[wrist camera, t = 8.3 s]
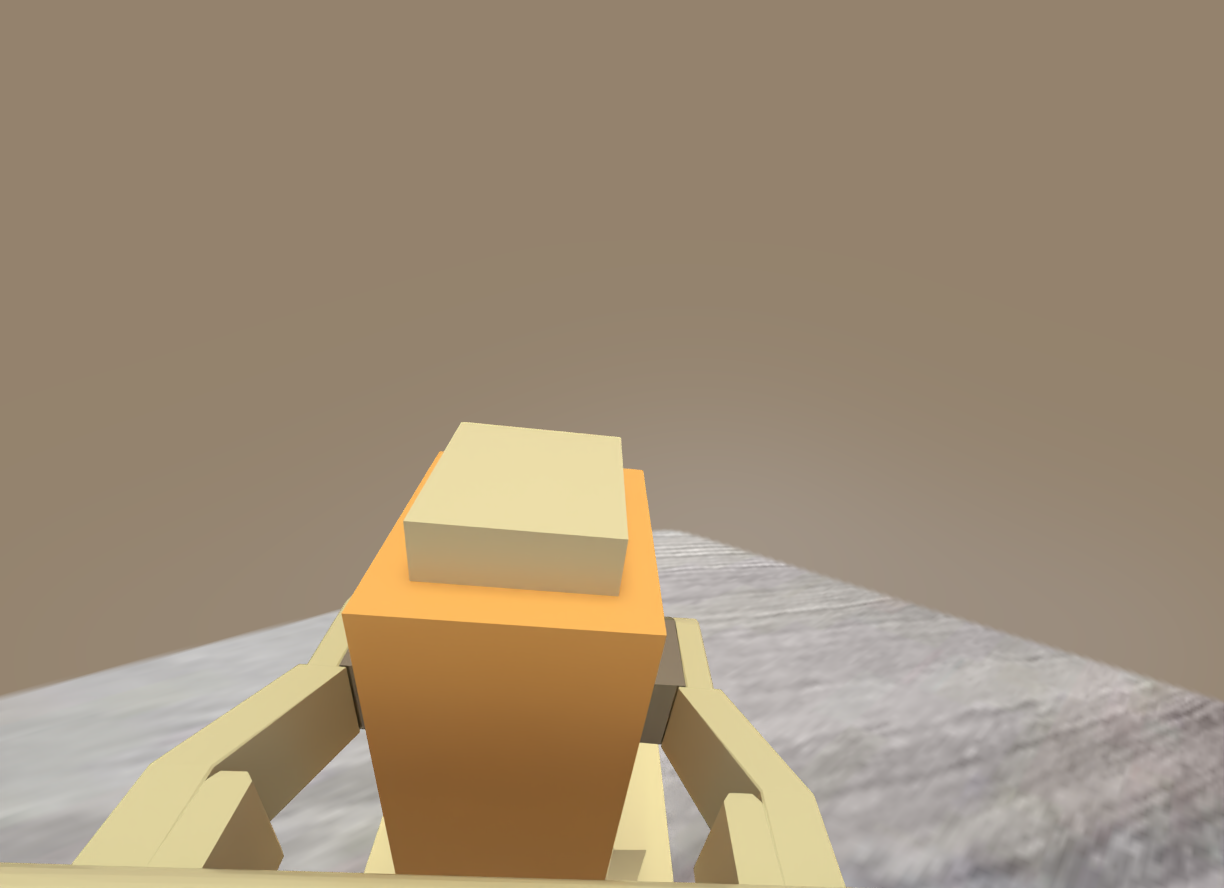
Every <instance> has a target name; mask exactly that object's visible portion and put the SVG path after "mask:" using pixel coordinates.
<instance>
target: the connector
mask: <svg viewBox="0 0 1224 888" xmlns="http://www.w3.org/2000/svg"><path fill="white" fill-rule="evenodd" d="M341 614H342V619H343V624H344V629H345V634H346V638H347V643H348V648H349V653H350V658H351V662H352V667H353V672H354V677H355V682H356V687H357V691H358V696H359V701H360V706H361V711H362V715H363V720H364V725H365V730H366V735H367V740H368V744H369V749H370V754H371V759H372V764H373V768H374V773H375V778H376V783H377V788H378V792H379V797H380V802H381V807H382V812H383V817H384V821H385V826H386V831H387V836H388V841H389V845H390V850H391V855H392V860H393V865H394V870H395V874H412V875H446V876H480V877H513V878H547V879H581V880H605V878H606V874H607V870H608V866H609V862H610V858H611V854H612V850H613V846H614V842H615V838H616V834H617V830H618V826H619V822H620V818H621V814H622V810H623V807H624V803H625V799H626V795H627V791H628V787H629V783H630V779H631V775H632V771H633V767H634V763H635V759H636V755H637V751H638V747H639V743H640V739H641V735H642V731H643V727H644V724H645V720H646V716H647V712H648V708H649V704H650V700H651V696H652V692H653V688H654V684H655V680H656V676H657V672H658V668H659V664H660V660H661V656H662V652H663V648H664V645H665V641H666V637H667V634H666V627H665V620H664V613H663V606H662V599H661V592H660V585H659V578H658V571H657V564H656V557H655V550H654V543H653V536H652V529H651V523H650V516H649V509H648V502H647V495H646V488H645V481H644V475H643V470H634V469H623V461H622V447H621V437H612V436H611V437H610V436H601V435H591V434H580V433H571V432H570V433H569V432H560V431H550V430H540V429H530V428H520V427H510V426H499V425H489V424H478V423H469V422H461V424H460V426H459V427H458V429H457V431H456V432H455V434H454V436H453V437H452V439H451V441H450V443H449V444H448V446H447V447H446V449H445V451H444V452H441V451H440V452H439V454H438V455H437V457H436V458H435V460H434V462H433V463H432V465H431V467H430V468H429V470H428V471H427V473H426V475H425V476H424V478H423V480H422V481H421V483H420V485H419V486H418V488H417V490H416V491H415V493H414V495H413V496H412V498H411V500H410V501H409V503H408V505H407V506H406V508H405V509H404V511H403V513H402V514H401V516H400V518H399V519H398V521H397V523H396V524H395V526H394V528H393V529H392V531H391V533H390V534H389V536H388V537H387V539H386V541H385V542H384V544H383V546H382V547H381V549H380V550H379V552H378V554H377V555H376V557H375V559H374V560H373V562H372V564H371V565H370V567H369V569H368V570H367V572H366V574H365V575H364V577H363V578H362V580H361V582H360V583H359V585H358V587H357V588H356V590H355V592H354V593H353V595H352V597H351V598H350V600H349V602H348V603H347V605H346V606H345V608H344V610H343V611H342V613H341Z"/></svg>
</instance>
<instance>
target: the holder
mask: <svg viewBox="0 0 1224 888" xmlns="http://www.w3.org/2000/svg"><path fill="white" fill-rule="evenodd" d="M364 873H379V874H395V870H394V865H393V860H392V855H391V850H390V845H389V841H388V836H387V831H386V826H385V821H384V817H382V820H381V823H380V826H379V829H378V832H377V835H376V838H375V841H374V844H373V847H372V850H371V853H370V856H369V859H368V862H367V865H366V868H365V871H364ZM605 880H614V881H648V882H673V873H672V865H671V856H670V847H669V838H668V829H667V820H666V811H665V802H664V793H663V784H662V775H661V766H660V757H659V748H658V744H649V743H639V747H638V751H637V755H636V759H635V763H634V767H633V771H632V775H631V779H630V783H629V787H628V791H627V795H626V799H625V803H624V807H623V810H622V814H621V818H620V822H619V826H618V830H617V834H616V838H615V842H614V846H613V850H612V854H611V858H610V862H609V866H608V870H607V874H606V878H605Z"/></svg>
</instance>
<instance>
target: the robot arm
mask: <svg viewBox="0 0 1224 888" xmlns="http://www.w3.org/2000/svg"><path fill="white" fill-rule="evenodd" d="M351 597H352V596H351ZM351 597H350V598H351ZM350 598H349V599H348V600H347V601H346V602H345V604H344V606H343V607H342V609H341V610H340V612H339V614H338V615H337V617H336V619H335V620H334V622H333V623H332V625H331V627H330V628H329V630H328V632H327V633H326V635H325V636H324V638H323V640H322V641H321V643H320V644H319V646H318V648H317V649H316V651H315V653H314V654H313V656H312V657H311V659H310V661H309V662H308V664H299V665H297V666H296V667H294V668H293V669H291V670H290V671H288V672H287V673H285V674H284V675H282V676H281V677H279V678H278V679H276V680H275V681H273V682H272V683H270V684H269V685H267V686H266V687H264V688H263V689H261V690H260V691H258V692H257V693H255V694H254V695H252V696H251V697H249V698H248V699H246V700H245V701H243V702H242V703H240V704H239V705H237V706H236V707H234V708H233V709H231V710H230V711H229V712H227V713H226V714H224V715H223V716H221V717H220V718H218V719H217V720H215V721H214V722H212V723H211V724H209V725H208V726H206V727H205V728H203V729H202V730H200V731H199V732H197V733H196V734H194V735H193V736H191V737H190V738H188V739H187V740H185V741H184V742H182V743H181V744H179V745H178V746H176V747H175V748H173V749H172V750H170V751H169V752H167V753H166V754H164V755H163V756H161V757H160V758H158V759H157V760H155V761H154V762H152V763H151V764H150V765H149V766H148V767H147V768H146V770H145V771H144V772H143V774H142V775H141V776H140V777H139V779H138V780H137V781H136V782H135V784H134V785H133V786H132V788H131V789H130V790H129V791H128V793H127V794H126V795H125V797H124V798H123V799H122V800H121V802H120V803H119V804H118V805H117V807H116V808H115V809H114V811H113V812H112V813H111V814H110V816H109V817H108V818H107V820H106V821H105V822H104V823H103V825H102V826H101V827H100V828H99V830H98V831H97V832H96V834H95V835H94V836H93V837H92V839H91V840H90V841H89V843H88V844H87V845H86V846H85V848H84V849H83V850H82V851H81V853H80V854H79V855H78V857H77V858H76V859H75V860H74V862H73V863H72V864H71V865H70V864H36V863H1V862H0V888H850V887H846V886H845V884H844V881H843V878H842V875H841V872H840V869H839V866H838V863H837V861H836V858H835V855H834V852H833V849H832V846H831V843H830V840H829V838H828V835H827V832H826V829H825V826H824V823H823V820H822V817H821V814H820V812H819V809H818V806H817V803H816V800H815V797H814V795H813V794H812V792H811V791H810V790H809V789H808V788H807V787H806V786H805V784H804V783H803V782H802V781H801V780H800V779H799V778H798V777H797V775H796V774H795V773H794V772H793V771H792V770H791V769H790V767H789V766H788V765H787V764H786V763H785V762H784V761H783V759H782V758H781V757H780V756H779V755H778V754H777V753H776V752H775V750H774V749H773V748H772V747H771V746H770V745H769V744H768V742H767V741H766V740H765V739H764V738H763V737H762V736H761V735H760V733H759V732H758V731H757V730H756V729H755V728H754V727H753V725H752V724H751V723H750V722H749V721H748V720H747V719H746V718H745V716H744V715H743V714H742V713H741V712H740V711H739V710H738V708H737V707H736V706H735V705H734V704H733V703H732V702H731V701H730V699H729V698H728V697H727V696H726V695H725V694H724V693H723V691H722V690H719V689H714V688H713V683H712V679H711V674H710V670H709V666H708V661H707V657H706V653H705V648H704V644H703V639H702V635H701V631H700V626H699V623H698V621H697V620H696V619H688V618H672V617H664V620H665V627H666V634H667V637H666V641H665V645H664V648H663V652H662V656H661V660H660V664H659V668H658V672H657V676H656V680H655V684H654V688H653V692H652V696H651V700H650V704H649V708H648V712H647V716H646V720H645V724H644V727H643V731H642V735H641V739H640V743H649V744H661V745H662V746H661V747H662V749H663V751H664V752H665V754H666V756H667V757H668V759H669V761H670V763H671V764H672V766H673V768H674V769H675V771H676V773H677V774H678V776H679V778H680V779H681V781H682V783H683V784H684V786H685V788H686V789H687V791H688V793H689V794H690V796H691V798H692V799H693V801H694V803H695V805H696V806H697V808H698V810H699V811H700V813H701V815H702V816H703V818H704V820H705V821H706V823H707V825H708V826H709V828H710V830H711V831H710V833H709V835H708V838H707V840H706V842H705V844H704V846H703V849H702V851H701V853H700V855H699V857H698V860H697V862H696V864H695V866H694V875H695V883H681V882H648V881H614V880H581V879H547V878H513V877H480V876H446V875H412V874H379V873H345V872H310V871H277V870H278V868H279V865H280V863H281V861H282V859H283V857H284V855H283V851H282V848H281V845H280V843H279V841H278V839H277V836H276V834H275V832H274V830H273V827H272V825H271V823H270V821H271V820H272V819H273V818H274V817H275V816H276V815H277V814H278V813H279V812H280V811H281V810H282V809H283V808H284V807H285V806H286V805H287V804H288V803H289V802H290V801H291V800H292V799H293V798H294V797H295V796H296V795H297V794H298V793H299V792H300V791H301V790H302V789H303V788H304V787H305V786H306V785H307V784H308V783H309V782H310V781H311V780H312V779H313V778H314V777H315V776H316V775H317V774H318V773H319V772H320V771H321V770H322V769H323V768H324V767H325V766H326V765H327V764H328V763H329V762H330V761H331V760H332V759H333V758H334V757H335V756H336V755H337V754H338V753H339V752H340V751H341V750H342V749H343V748H344V747H345V746H346V745H347V744H348V743H349V742H350V741H351V740H352V739H353V738H354V737H355V736H356V735H357V734H358V733H359V732H360V729H365V725H364V720H363V715H362V711H361V706H360V701H359V696H358V691H357V687H356V682H355V677H354V672H353V667H352V662H351V658H350V653H349V648H348V643H347V638H346V634H345V629H344V624H343V619H342V614H341V613H342V611H343V610H344V608H345V606H346V605H347V603H348V602H349V600H350Z"/></svg>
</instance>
